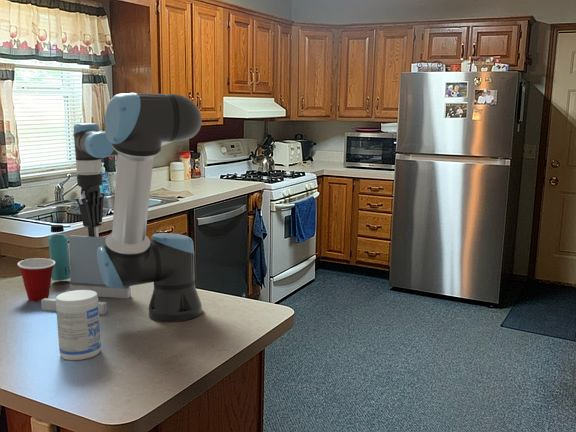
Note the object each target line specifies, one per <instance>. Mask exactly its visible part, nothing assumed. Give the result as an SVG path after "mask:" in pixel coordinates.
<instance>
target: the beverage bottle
mask: <svg viewBox="0 0 576 432" xmlns="http://www.w3.org/2000/svg"><path fill="white" fill-rule="evenodd" d="M64 231H65V229H64V225H63V224H53V225H51V226H50V233H56V234H51V235H50V236H49V237H48V239H47V241H48V250H49V251H48V252H49V259H51V260H54V261H55V265H54V266H53V270H52V275H51V281H57V282H58V281H59V282H60V281H66V280H69V279H70V251H69V236H67V235H66V234H63V233H62V232H64Z"/></svg>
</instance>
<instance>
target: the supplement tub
mask: <svg viewBox="0 0 576 432" xmlns="http://www.w3.org/2000/svg"><path fill="white" fill-rule="evenodd" d="M55 297H56V298H55V299H56V321H57V335H58V347H59V348H58V349H59V355H60V356H61V358H62V359H64V360H68V361H81V360H87V359H90V358H93V357H95V356H97V355H98V354H99V353H100V352H101V349H102V339H101V325H100V314H99V305H98V302H99V297H98V296H97V293H96V292H95V291H91V290H75V291H70V290H69V291H65V292H62V293H60V294H58V295H57V296H55Z"/></svg>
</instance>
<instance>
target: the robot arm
mask: <svg viewBox="0 0 576 432" xmlns="http://www.w3.org/2000/svg"><path fill="white" fill-rule="evenodd" d="M202 120H203V119H202V114H201V110H200V109H199V108H198V106H197V105H196V104H195V102H193V100H191V99H190V98H188V97H186V96H184V95H181V94H177V93H147V92H146V93H139V92H138V93H136V92H133V91H132V92H129V93H118V94H115V95H113V97H112V98H111V99H110V100H109V102H108V104H107V107H106V110H105V116H104V126H105V127H104V130H103V131H102V130H100V126H99V123H96V122H86V123H85V122H83V123H79V122H78V123H75V124H74V125H73V134H72V135H73V140H74V141H73V142H74V153H75V165H76V166H75V167H76V173H78V174H77V175H76V182H77V186H78V187H80V189H81V190H80V197H77V198H76V203H77V204H78V208H79V213H80V216H81V221H82V226H83V227H85V228H87V230H88V231H87V232H88V233H87V234H88V235H87V236H94V237H100V236H99V232H100V231H99V227H101V226H102V222H103V212H104V199H105V195H106V193H105V192H103V191H102V192H101V188H100V186H102V185H103V184H104V183H103V182H104V181H103V174H102V173H101V172H103V168H102V166H103V165H102V159H104V158H107V157H117V161H116V162H117V164H116V175H115V191H114V205H113V215H112V217H113V218H112V229H111V232H110V233H109V234H108V235H107V236H105V237H106V240H105V246H101V247H99V248H98V249H97V262H98V267H99V271H100V274H101V277H102V280H103V282H104V283H105V285H106V286H107V287H108V288H124V287H127V286H130V287H133V286H138V285H144V284H150V283H153V290H152V295H151V297H150V301H149V304H148V316H149V318H150V319H151V320H154V321H158V322H165V323H166V322H170V323H171V322H182V321H188V320H192V319H195V318H197V317H198V316H200V315H201V314H202V312H203V309H202V308H203V307H202V302H201V299H200V296H199V293H198V291H197V288H196V280H195V279H196V278H195V249H194V240H193V239H192V238H191V237H189V236H188V235H184V234H178V233H168V232H167V233H166V232H158V233H157V232H156V233H153V234H152V235H151V238H149V237H148V236H147V235H146V233H147V222H148V214H149V206H150V205H149V204H150V195H151V187H152V177H153V176H152V175H153V167H154V159H155V157H156V156H157V155H159V154H160V153H161V150H162V147H163V146H166V145H169V144H171V143H172V142H177V143H180V142H185V141H188V140H190V139H192V138H194V137H195V136H196V135H197V134H198V133H199V131H200V130H201V127H202V123H203V121H202Z"/></svg>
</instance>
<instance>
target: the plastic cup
mask: <svg viewBox="0 0 576 432" xmlns="http://www.w3.org/2000/svg"><path fill="white" fill-rule="evenodd" d="M54 265H55V261H54V260H51V259H50V258H43V257H42V258H40V257H38V258H37V257H35V258H34V257H33V258H26V259H24V260H23V259H22V260H20V261H18V262H17V267H19V271H20V274H21V277H22V281H23V286H24V289H25V292H26V296H27V298H28V300H29V302H41V300H42V299H44V298H50V290H51V289H50V288H51V283H52V278H51V275H52V270H53V266H54Z"/></svg>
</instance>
